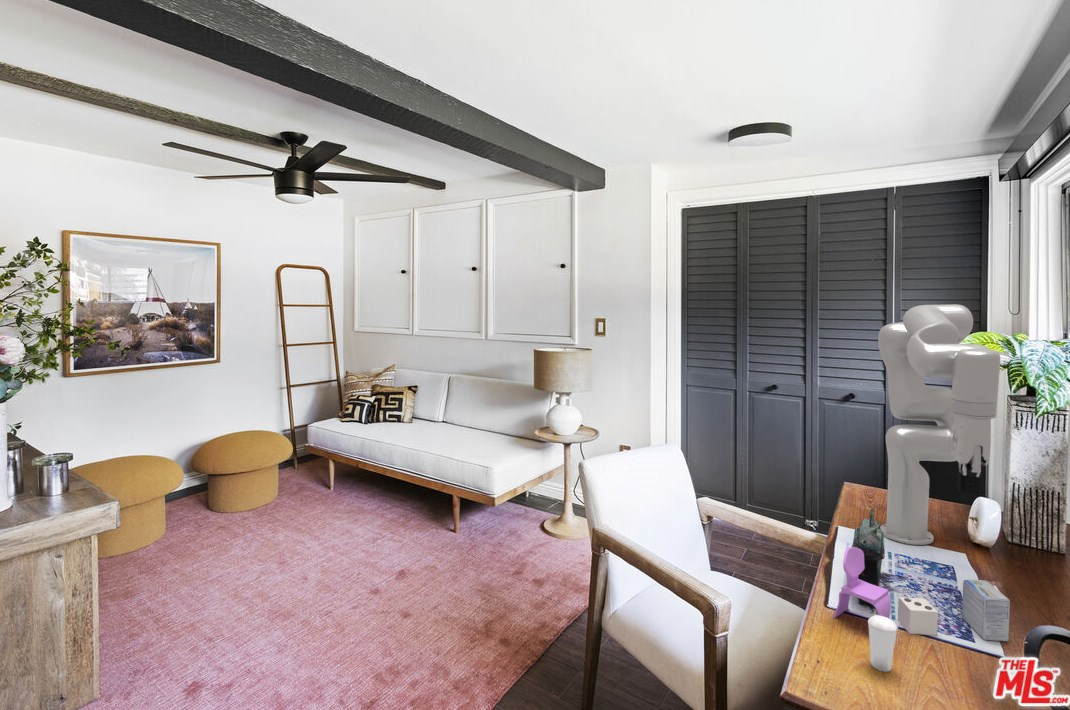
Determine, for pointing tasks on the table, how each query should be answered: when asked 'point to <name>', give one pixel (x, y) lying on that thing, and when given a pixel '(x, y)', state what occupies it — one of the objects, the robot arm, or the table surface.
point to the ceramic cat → (870, 551)
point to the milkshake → (882, 642)
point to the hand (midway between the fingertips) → (967, 492)
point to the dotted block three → (917, 616)
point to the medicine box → (986, 610)
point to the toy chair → (861, 585)
